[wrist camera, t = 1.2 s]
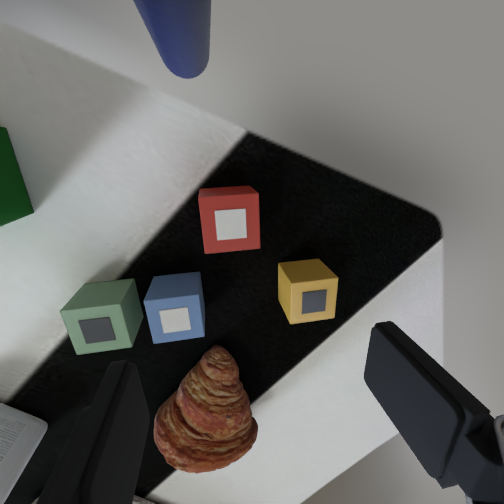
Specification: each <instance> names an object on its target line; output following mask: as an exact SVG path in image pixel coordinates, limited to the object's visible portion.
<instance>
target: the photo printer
mask: <svg viewBox="0 0 504 504" xmlns="http://www.w3.org/2000/svg"><path fill="white" fill-rule="evenodd" d="M47 425H48V424H47V422H45V421H43V420H42V419H39V418H37V417H35V416H32V415H30V414H27V413H25V412H22V411H20V410H18V409H15V408H13V407H10V406H8V405H5V404H2V403H0V504H4V502H5V500H6V499H7V497H8V495H9V494H10V492H11V490H12V489H13V487H14V485H15V483H16V482H17V480H18V478H19V477H20V475H21V473H22V472H23V470H24V468H25V466H26V465H27V463H28V461H29V460H30V458H31V456H32V454H33V453H34V451H35V449H36V448H37V446H38V444H39V442H40V441H41V439H42V437H43V436H44V434H45V432H46V430H47V427H48V426H47Z"/></svg>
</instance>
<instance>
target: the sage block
mask: <svg viewBox="0 0 504 504" xmlns="http://www.w3.org/2000/svg"><path fill="white" fill-rule="evenodd" d="M60 313H61V315H62V318H63V321H64V323H65V326H66V328H67V331H68V333H69V336H70V338H71V341H72V344H73V346H74V349H75V351H76V354H77V355H80V354H87V353H94V352H101V351H108V350H115V349H122V348H129V347H132V346H133V343H134V340H135V338H136V335H137V332H138V330H139V327H140V324H141V322H142V319H143V312H142V308H141V304H140V300H139V296H138V292H137V288H136V284H135V280H134V279H124V280H115V281H106V282H97V283H87V284H84V285H83V286H82V287H81V288H80V290H79V291H78V292H77V293H76V294H75V295H74V296H73V297H72V298H71V299H70V301H69V302H68V303H67V304H66V305H65V306H64V307H63V308H62V309H61V310H60Z"/></svg>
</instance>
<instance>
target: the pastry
mask: <svg viewBox="0 0 504 504" xmlns="http://www.w3.org/2000/svg"><path fill="white" fill-rule="evenodd" d="M154 421H155V425H154V440H155V443H156V445H157V447H158V449H159V450H160V452H161V453H162V454H163V455H164V457H165V459H166V461H167V463H168V464H170V465H172V466H173V467H174V468H176V469H178V470H182V471H185V472H188V473H201V472H209V471H214V470H216V469H221V468H224V467H226V466H228V465H229V464H231V463H232V462H235V461H237V460H238V459H240V458H241V457H242V456H243V455H245V453H246V452H247V451H249V450H250V449H251V447H252V445H253V444H254V442H255V441H256V437H257V432H258V425H257V422H256V420H255V419H254V418H253V417H252V412H251V409H250V401H249V399H248V395H247V393H246V390H244V389H243V384H242V383H241V382H240V380H239V368H238V366H237V363H236V362H235V360H234V358H233V357H232V355H231V354H229V352H228V351H227V350H226V349H225V348H223V347H222V346H219V345H214V346H213V347H212V348H210V349H209V350H207V351H206V353H205V354H204V355H203V357H202V358H201V359H200V361H199V362H198V363H197V364H196V366H194V367H193V368H192V369H191V370H190V371H189V373H188V374H187V375H186V377H184V378H183V380H182V382H181V383H180V386H179V388H178V389H177V390H176V391H175V392H174V393H173V394H172V395H171V396H170V397H169V398H168V399H167V400H166V401H165V402H164V403H163V404H162V405H161V406H160V408H159V410H158V412H157V414H156V416H155V420H154Z"/></svg>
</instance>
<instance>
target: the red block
mask: <svg viewBox="0 0 504 504" xmlns="http://www.w3.org/2000/svg"><path fill="white" fill-rule="evenodd" d="M198 200H199V208H200V217H201V225H202V234H203V242H204V250H205V254H209V253H219V252H229V251H239V250H249V249H260V223H259V193H258V192H256V191H255V190H254V189H253V188H252V187H250V186H234V187H219V188H203V189H200V190H199V196H198Z"/></svg>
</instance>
